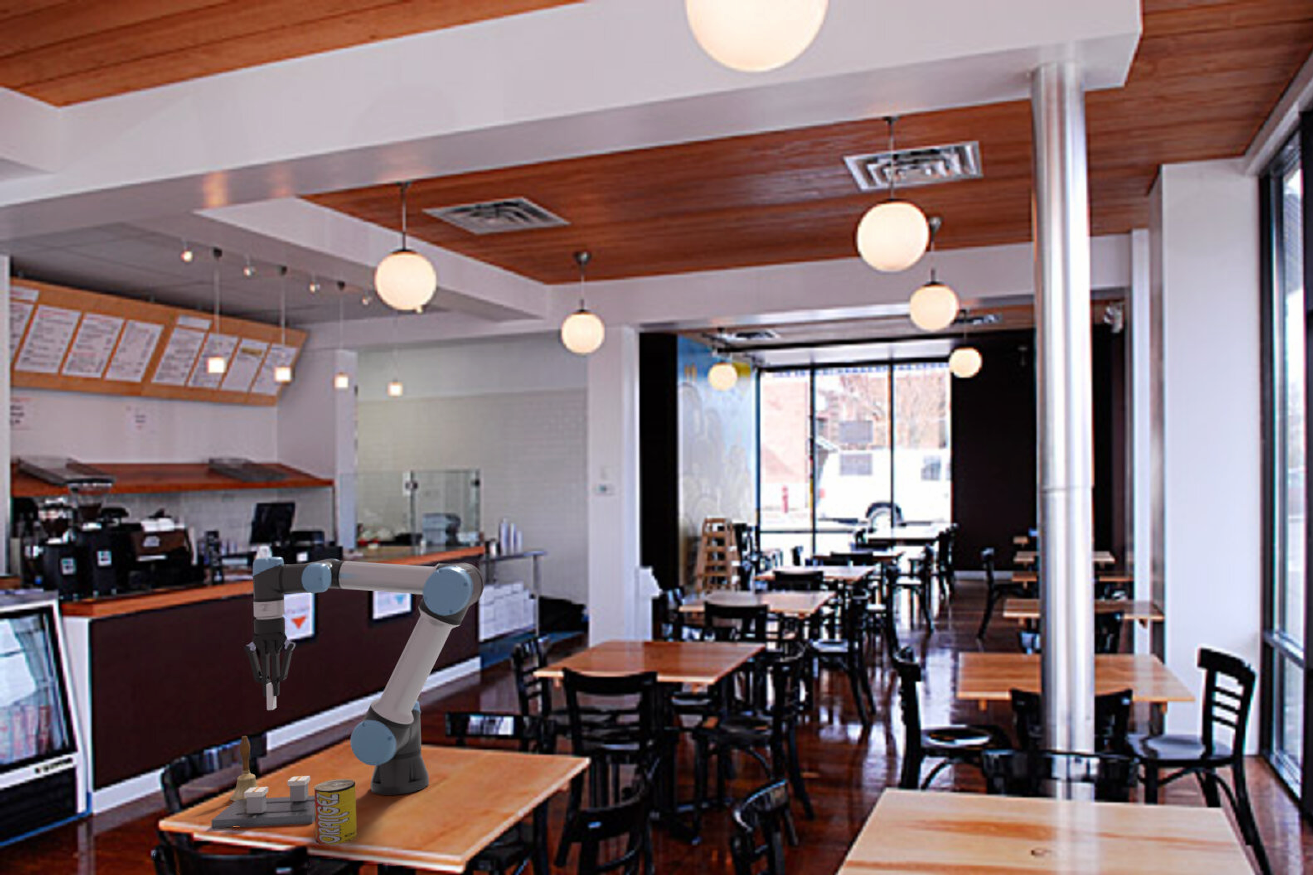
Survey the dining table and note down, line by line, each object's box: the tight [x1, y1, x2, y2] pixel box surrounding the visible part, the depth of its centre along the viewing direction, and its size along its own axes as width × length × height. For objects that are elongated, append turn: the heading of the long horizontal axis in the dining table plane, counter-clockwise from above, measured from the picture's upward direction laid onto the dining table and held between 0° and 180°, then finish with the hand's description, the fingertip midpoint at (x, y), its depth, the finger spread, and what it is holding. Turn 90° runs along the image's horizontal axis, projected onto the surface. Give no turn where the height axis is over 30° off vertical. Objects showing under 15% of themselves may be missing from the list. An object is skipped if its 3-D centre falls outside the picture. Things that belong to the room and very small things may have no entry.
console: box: [211, 795, 315, 830], centre depth 252 cm, size 24×16×2 cm, turn 91°
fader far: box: [287, 775, 311, 802], centre depth 257 cm, size 4×4×5 cm
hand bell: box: [229, 735, 259, 802], centre depth 269 cm, size 8×8×16 cm
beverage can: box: [314, 778, 358, 846], centre depth 234 cm, size 9×9×12 cm
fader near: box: [244, 785, 269, 814], centre depth 248 cm, size 4×4×5 cm
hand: (271, 708), depth 262 cm, fingers closed
